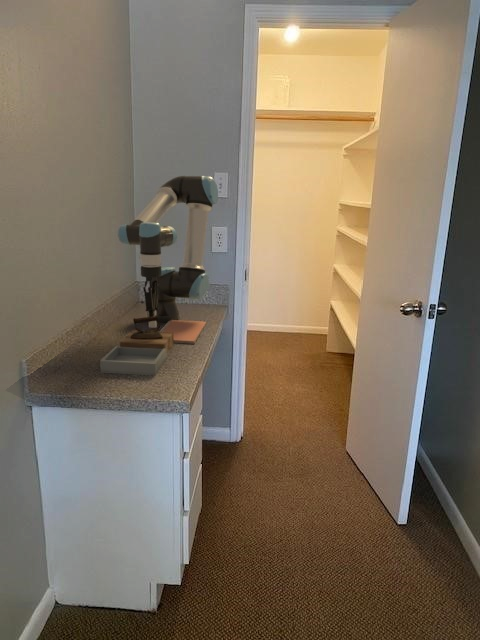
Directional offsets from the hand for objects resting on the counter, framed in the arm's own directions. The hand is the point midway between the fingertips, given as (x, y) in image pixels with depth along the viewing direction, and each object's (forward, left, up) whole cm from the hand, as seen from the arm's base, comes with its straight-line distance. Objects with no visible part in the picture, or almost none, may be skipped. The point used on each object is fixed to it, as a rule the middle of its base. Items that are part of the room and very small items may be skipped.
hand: (152, 327), depth 172 cm
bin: (+20, +11, -7) cm, 24 cm away
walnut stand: (+6, +4, -7) cm, 10 cm away
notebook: (-17, -1, -7) cm, 19 cm away
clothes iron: (+7, +3, -2) cm, 8 cm away
